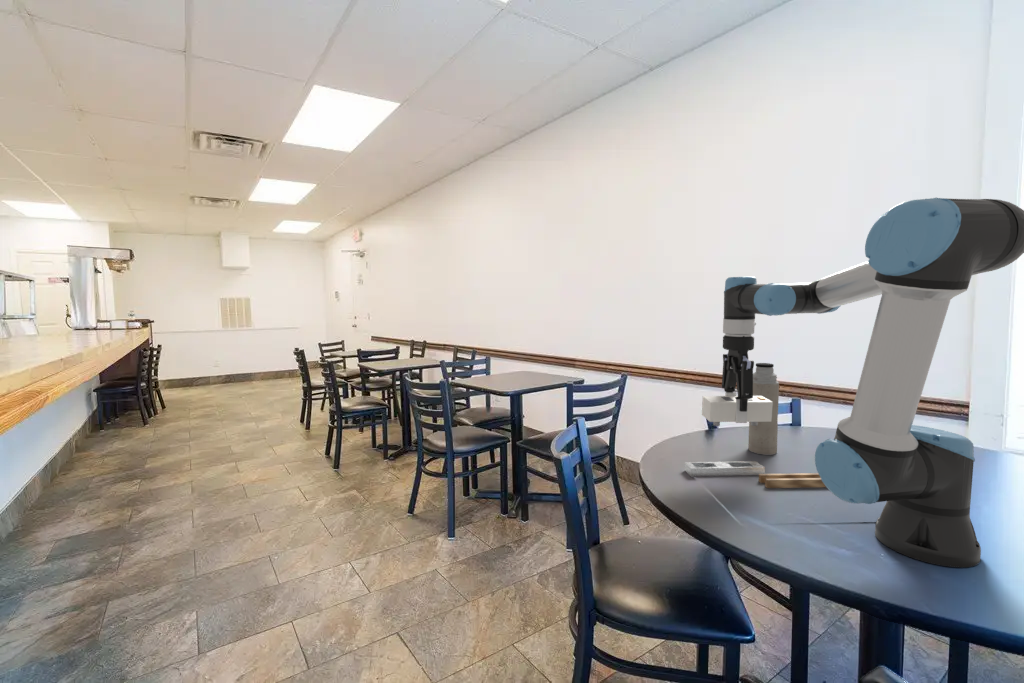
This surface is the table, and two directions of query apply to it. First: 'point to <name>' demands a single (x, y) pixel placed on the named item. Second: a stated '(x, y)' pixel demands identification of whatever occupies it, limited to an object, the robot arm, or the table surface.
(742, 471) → the keyhole plate
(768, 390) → the thermos bottle
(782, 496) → the table surface
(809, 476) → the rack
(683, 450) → the table surface
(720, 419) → the power strip
